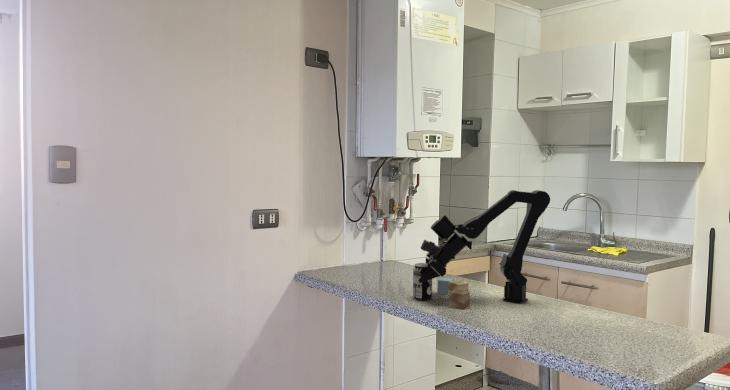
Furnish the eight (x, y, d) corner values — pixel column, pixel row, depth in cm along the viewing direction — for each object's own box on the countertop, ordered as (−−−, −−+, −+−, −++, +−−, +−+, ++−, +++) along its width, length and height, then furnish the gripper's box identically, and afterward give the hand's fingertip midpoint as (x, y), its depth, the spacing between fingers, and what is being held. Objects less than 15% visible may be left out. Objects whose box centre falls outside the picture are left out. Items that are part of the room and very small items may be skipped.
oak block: (468, 296, 187) (468, 282, 186) (457, 298, 184) (458, 284, 184) (458, 293, 191) (458, 280, 191) (448, 295, 188) (448, 281, 188)
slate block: (453, 291, 194) (453, 278, 194) (451, 295, 189) (451, 281, 189) (439, 290, 195) (440, 277, 195) (437, 294, 190) (437, 280, 190)
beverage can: (431, 296, 186) (432, 263, 186) (432, 301, 180) (432, 266, 179) (413, 296, 187) (413, 262, 186) (412, 300, 180) (413, 266, 180)
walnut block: (469, 306, 174) (469, 291, 174) (463, 309, 170) (463, 294, 169) (455, 304, 177) (455, 289, 176) (449, 307, 172) (449, 292, 172)
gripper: (432, 229, 191) (402, 258, 192) (436, 235, 172) (402, 268, 174) (454, 250, 191) (423, 280, 192) (460, 260, 172) (426, 292, 174)
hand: (418, 279), depth 183 cm, fingers closed on beverage can, 6 cm apart
